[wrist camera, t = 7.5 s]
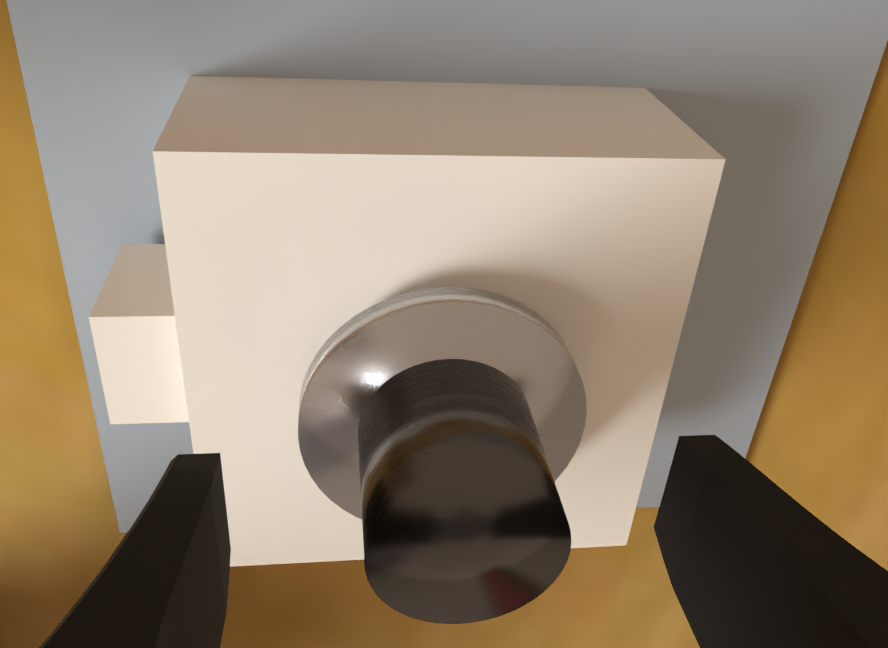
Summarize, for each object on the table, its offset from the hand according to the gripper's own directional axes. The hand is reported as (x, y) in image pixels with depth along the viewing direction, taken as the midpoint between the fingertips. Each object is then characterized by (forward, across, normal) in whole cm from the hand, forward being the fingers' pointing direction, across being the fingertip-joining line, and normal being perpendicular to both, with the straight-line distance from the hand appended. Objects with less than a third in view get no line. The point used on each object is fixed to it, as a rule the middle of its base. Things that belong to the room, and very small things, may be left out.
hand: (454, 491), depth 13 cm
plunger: (+7, 0, 0) cm, 7 cm away
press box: (+7, 0, 0) cm, 7 cm away
